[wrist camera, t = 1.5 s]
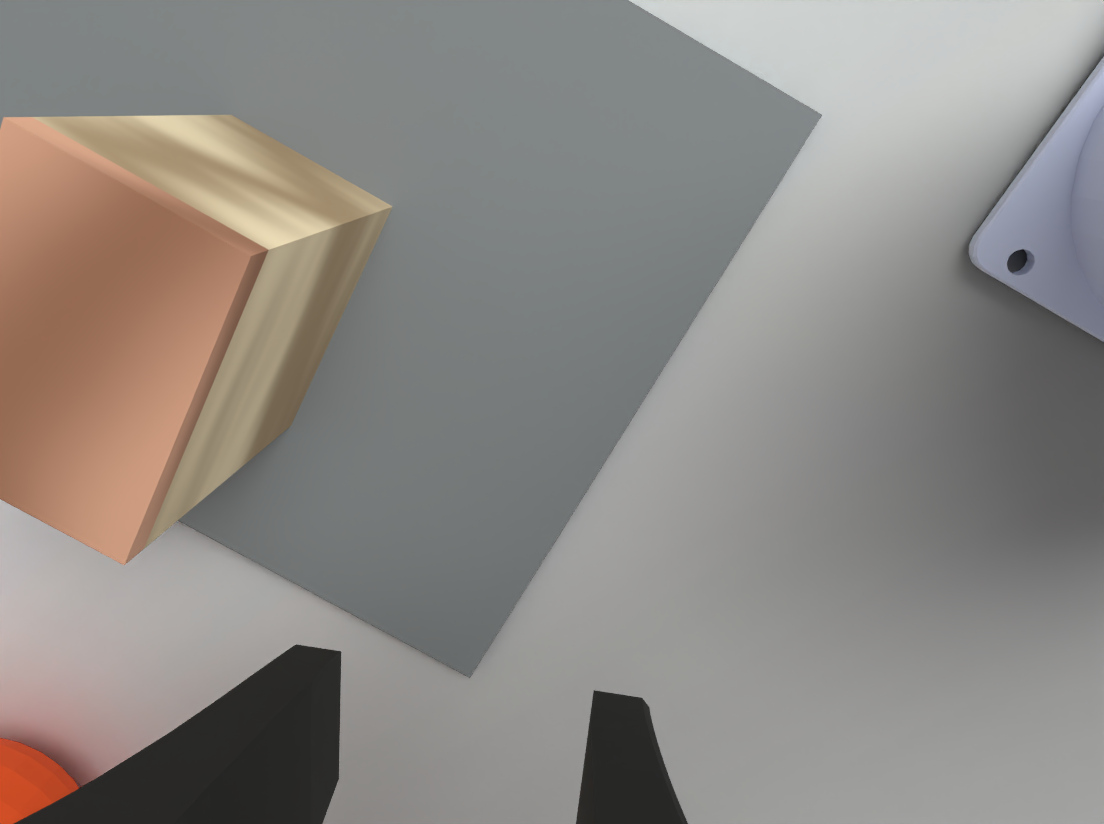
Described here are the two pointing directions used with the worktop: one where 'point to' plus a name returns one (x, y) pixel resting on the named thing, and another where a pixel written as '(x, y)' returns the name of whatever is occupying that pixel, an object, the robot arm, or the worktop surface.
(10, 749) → the clementine
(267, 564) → the slate mat
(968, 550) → the worktop surface
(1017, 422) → the worktop surface
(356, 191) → the maple block
